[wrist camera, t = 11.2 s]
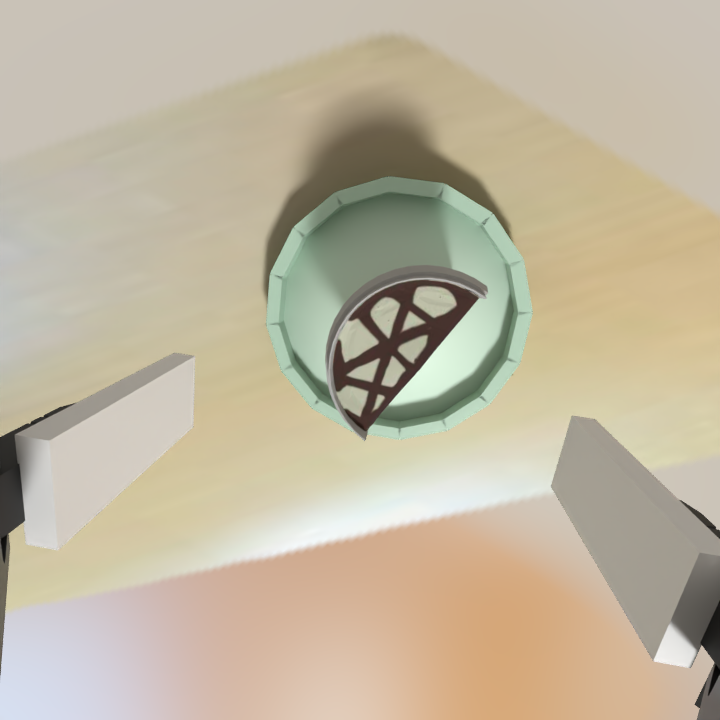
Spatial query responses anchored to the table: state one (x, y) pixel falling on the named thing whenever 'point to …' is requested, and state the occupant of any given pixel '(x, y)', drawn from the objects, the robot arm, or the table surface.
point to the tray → (380, 255)
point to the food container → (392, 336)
